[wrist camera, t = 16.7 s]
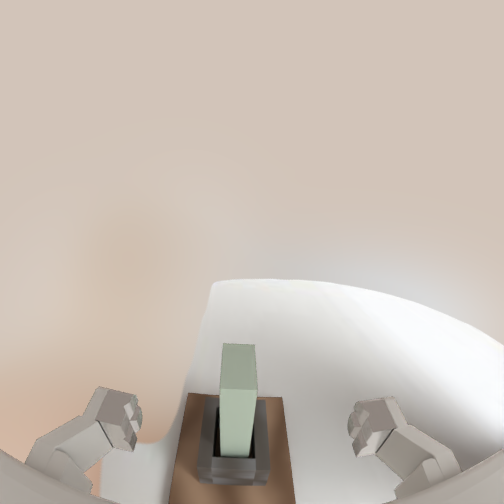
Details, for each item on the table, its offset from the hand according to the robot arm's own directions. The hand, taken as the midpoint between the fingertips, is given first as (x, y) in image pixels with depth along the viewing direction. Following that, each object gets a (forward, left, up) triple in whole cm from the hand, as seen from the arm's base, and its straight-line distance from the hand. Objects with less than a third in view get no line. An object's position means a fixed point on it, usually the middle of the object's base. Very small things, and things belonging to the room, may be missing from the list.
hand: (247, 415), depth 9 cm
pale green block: (0, -12, -25) cm, 28 cm away
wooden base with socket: (0, -12, -26) cm, 29 cm away
